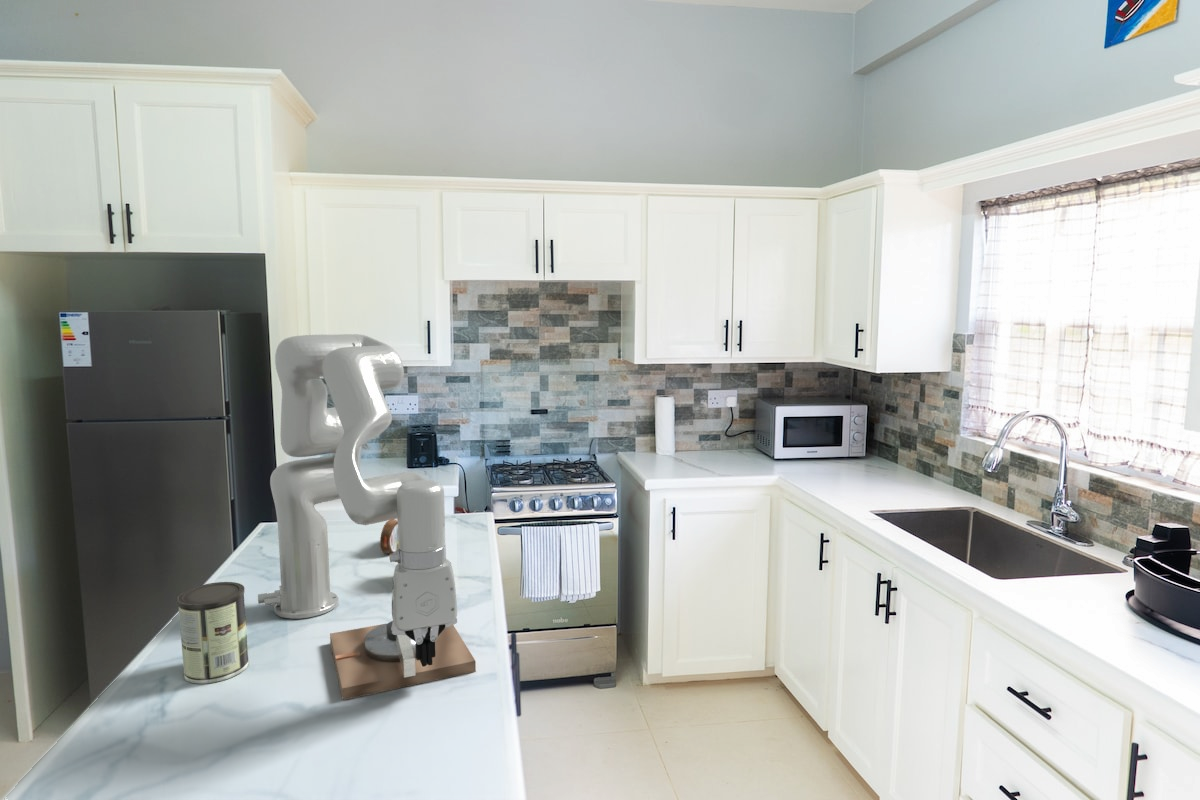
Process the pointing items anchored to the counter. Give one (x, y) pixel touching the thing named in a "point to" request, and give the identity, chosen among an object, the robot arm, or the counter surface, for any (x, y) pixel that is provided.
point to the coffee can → (213, 632)
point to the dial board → (394, 663)
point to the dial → (392, 647)
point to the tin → (389, 536)
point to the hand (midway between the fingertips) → (425, 662)
